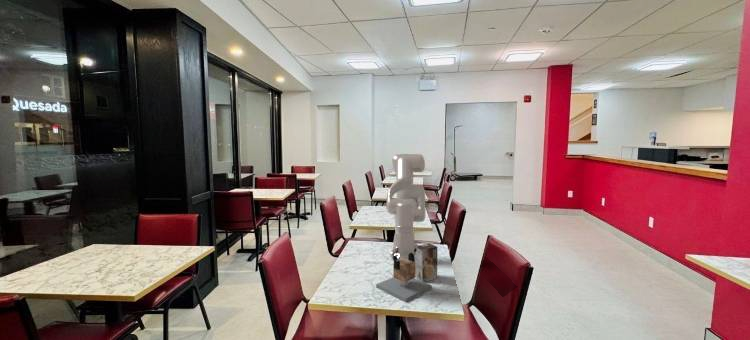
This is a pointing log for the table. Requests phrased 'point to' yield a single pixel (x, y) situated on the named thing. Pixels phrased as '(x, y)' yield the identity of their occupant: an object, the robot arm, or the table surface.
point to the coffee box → (426, 262)
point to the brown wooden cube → (405, 270)
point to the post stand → (404, 288)
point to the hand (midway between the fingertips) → (404, 266)
